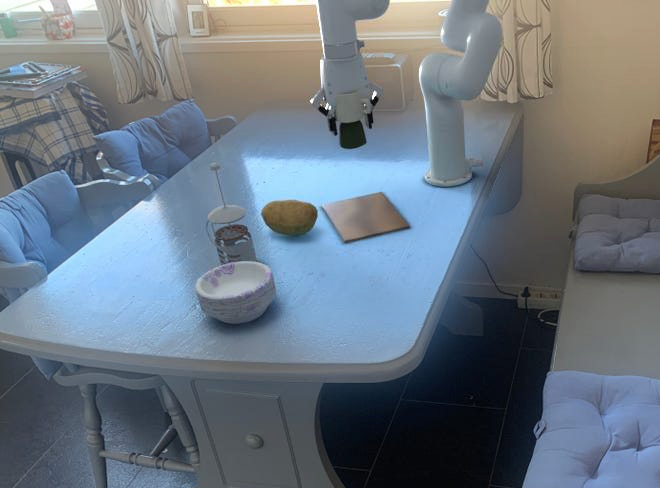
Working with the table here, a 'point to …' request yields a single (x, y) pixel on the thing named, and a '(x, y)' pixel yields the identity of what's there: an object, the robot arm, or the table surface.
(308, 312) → the table surface
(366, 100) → the character mug
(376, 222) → the placemat
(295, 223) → the potato
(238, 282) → the paper bowls
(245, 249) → the french press
